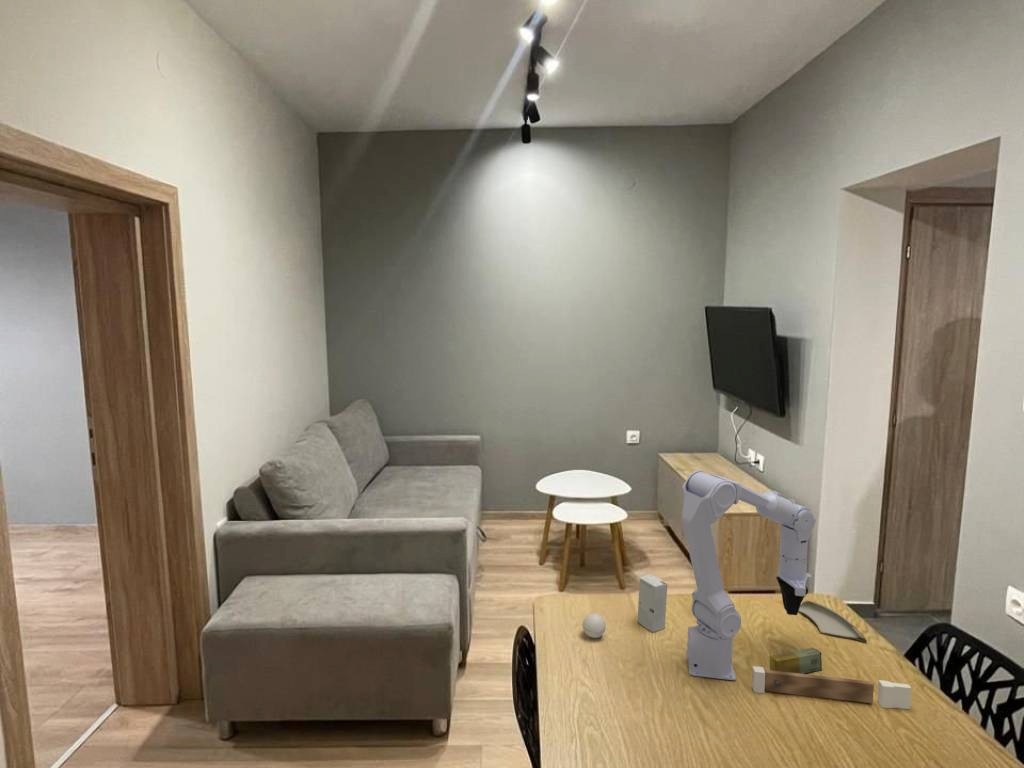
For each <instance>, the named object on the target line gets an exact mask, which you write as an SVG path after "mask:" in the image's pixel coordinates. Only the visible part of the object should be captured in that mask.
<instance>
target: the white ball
mask: <svg viewBox="0 0 1024 768" xmlns="http://www.w3.org/2000/svg"><path fill="white" fill-rule="evenodd" d="M577 626H579V624H577V625H575V627H577ZM606 628H607V626H606V621H605V619H604V617H603V616H601V614H599V613H596V612H595V613H594V612H593V613H589V614H587V615H586V616H585V617H584V618H583V621H582V629H583V632H584V633H585V635H587V636H588V637H589V638H591V639H598V638H601V636H603V635H604V634H605V631H606Z"/></svg>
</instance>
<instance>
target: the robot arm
mask: <svg viewBox="0 0 1024 768" xmlns="http://www.w3.org/2000/svg"><path fill="white" fill-rule="evenodd" d="M681 488H682V492H683V497H684V498H683V506H682V513H681V524H682V528H683V532H684V535H685V536H684V537H685V540H686V544H687V550H688V554H689V558H690V561H691V567H692V570H693V575H694V580H695V584H696V589H694V591H692V593H691V597H692V601H691V602H692V603H691V612H692V615H693V617H694V618H695V619H696V625H694V626H688V627H687V628H688V629H687V646H686V647H687V649H686V661H687V667H688V671H689V675H690V676H694V677H701V678H710V679H720V680H726V681H727V680H728V681H736V680H737V676H736V674H735V669H734V665H733V662H732V661H733V638H734V637H736V635H737V634H738V632H739V631H740V630H741V626H742V616H741V615H740V613H739V611H737V610H736V606H735V603H734V601H732V599H731V596H729V595H728V594H727V591H726V589H725V587H724V582H723V578H722V577H723V576H722V574H721V569H720V564H719V560H718V555H717V550H716V546H715V542H714V537H713V534H712V533H713V531H712V528H711V525H712V524H715V523H716V522H717V521H718V520H719V519H720V518H721V517H722V516H724V514H726V512H727V511H728V510H730V508H731V507H732V506H733V505H738V504H739V501H741V502H744V503H746V504H748V505H751V506H753V507H755V510H756V512H757V514H759V515H760V516H761V517H763V518H766V519H768V520H770V521H773V522H775V523H777V524H778V525H780V534H779V535H780V538H779V554H778V555H779V559H778V570H777V576H776V578H775V579H776V581H777V583H778V585H779V588H780V592H781V598H782V599H781V600H782V604H783V609H784V610H785V612H786V614H787V615H790V616H797V615H798V614H799V613H798V611H799V608H800V605H801V604H802V603H803V600H804V598H805V597H806V595H808V594H809V588H808V587H807V586H806V585H807V581H808V580H809V581H810V580H812V579H813V577H812V575H811V573H808V572H807V571H808V570H807V566H808V552H809V551H808V547H809V540H810V537H811V536H812V531H813V530H814V528H815V525H816V520H817V519H816V518H815V516H814V514H813V512H812V511H811V509H810V508H808V507H806V506H803V505H800V504H797V501H796V500H795V499H792V498H789V499H787V498H785V497H782V496H783V495H782V493H781V492H778V491H775V490H772V491H765V492H762V493H760V492H759V491H757V490H754V489H753V488H750V487H749V486H747V485H745V484H743V483H741V482H739V481H736V480H734V479H730V478H729V477H724V476H720V475H718V474H713V473H707V472H705V471H704V470H695V471H692V473H690V474H689V475H688V476H687V478H686V480H685V481H684V483H683V484H682V486H681Z"/></svg>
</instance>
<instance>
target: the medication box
mask: <svg viewBox="0 0 1024 768" xmlns="http://www.w3.org/2000/svg"><path fill="white" fill-rule="evenodd" d="M768 658H769V670H772V671H781V672H790V673H799V674H808V673H812V672H818V671H823V667H822V651H820V650H818V649H817V648H814V647H809V648H804V649H798V650H793V651H788V652H783V653H778V654H772V655H769V657H768Z"/></svg>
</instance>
